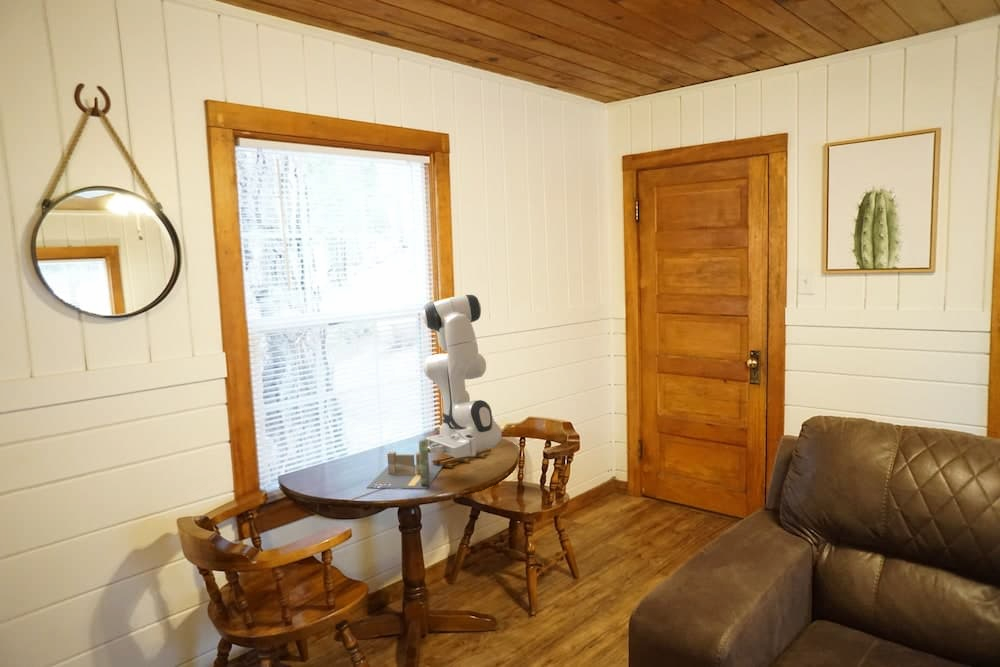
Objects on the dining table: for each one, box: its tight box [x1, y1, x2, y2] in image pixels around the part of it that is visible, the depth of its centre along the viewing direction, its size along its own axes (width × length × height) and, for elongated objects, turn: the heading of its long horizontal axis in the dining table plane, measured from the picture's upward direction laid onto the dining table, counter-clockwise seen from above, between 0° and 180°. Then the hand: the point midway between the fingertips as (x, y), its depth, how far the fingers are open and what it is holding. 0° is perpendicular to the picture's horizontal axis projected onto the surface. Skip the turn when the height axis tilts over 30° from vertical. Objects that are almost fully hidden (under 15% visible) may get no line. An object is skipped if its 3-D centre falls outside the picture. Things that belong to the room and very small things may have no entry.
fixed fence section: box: [386, 451, 416, 474], centre depth 242 cm, size 2×9×8 cm, turn 82°
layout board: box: [366, 464, 444, 490], centre depth 239 cm, size 26×21×1 cm
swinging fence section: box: [415, 439, 431, 486], centre depth 234 cm, size 3×17×15 cm, turn 13°
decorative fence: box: [432, 448, 492, 469], centre depth 258 cm, size 25×2×10 cm
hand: (427, 450), depth 228 cm, fingers closed, pressing on swinging fence section
